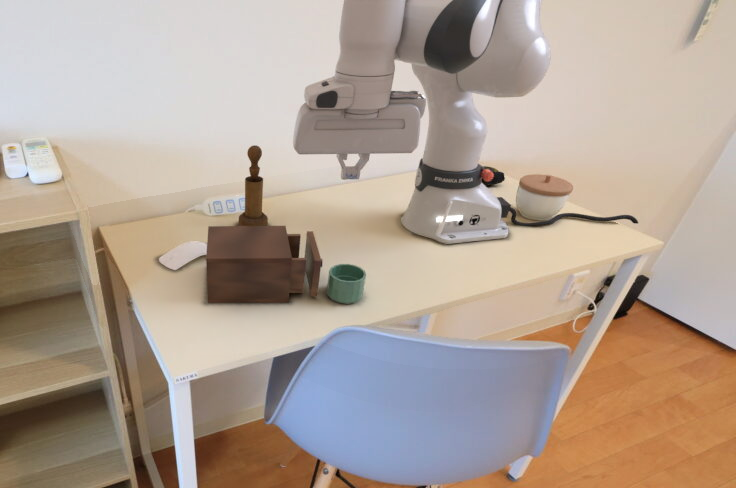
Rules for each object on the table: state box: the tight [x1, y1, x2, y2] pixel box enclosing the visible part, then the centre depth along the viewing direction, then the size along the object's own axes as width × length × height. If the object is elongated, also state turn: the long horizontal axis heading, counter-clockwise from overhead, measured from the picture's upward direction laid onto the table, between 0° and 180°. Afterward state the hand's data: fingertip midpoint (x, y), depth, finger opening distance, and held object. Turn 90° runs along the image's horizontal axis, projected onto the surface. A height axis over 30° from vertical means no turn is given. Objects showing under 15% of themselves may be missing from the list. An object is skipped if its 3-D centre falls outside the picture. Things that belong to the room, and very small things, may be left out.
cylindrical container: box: [326, 263, 367, 305], centre depth 94 cm, size 6×6×5 cm
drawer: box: [287, 230, 324, 297], centre depth 96 cm, size 15×11×7 cm
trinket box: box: [515, 173, 574, 221], centre depth 118 cm, size 11×11×9 cm
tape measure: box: [482, 165, 506, 187], centre depth 135 cm, size 7×7×4 cm
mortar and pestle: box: [238, 144, 269, 226], centre depth 113 cm, size 7×6×18 cm
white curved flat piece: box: [158, 240, 207, 271], centre depth 107 cm, size 7×12×2 cm, turn 128°
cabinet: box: [205, 225, 292, 304], centre depth 96 cm, size 15×13×9 cm
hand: (349, 178), depth 89 cm, fingers closed
